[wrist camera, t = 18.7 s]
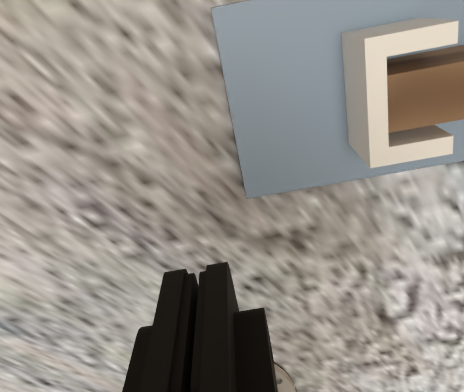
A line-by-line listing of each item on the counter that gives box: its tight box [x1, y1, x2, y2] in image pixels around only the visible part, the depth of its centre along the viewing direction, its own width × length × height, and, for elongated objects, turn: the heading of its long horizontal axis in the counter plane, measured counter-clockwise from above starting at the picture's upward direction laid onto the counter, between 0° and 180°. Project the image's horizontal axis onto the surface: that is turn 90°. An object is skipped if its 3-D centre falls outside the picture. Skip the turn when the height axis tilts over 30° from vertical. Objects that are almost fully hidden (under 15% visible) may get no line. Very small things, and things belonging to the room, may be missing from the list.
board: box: [211, 0, 464, 199], centre depth 30 cm, size 14×27×1 cm, turn 100°
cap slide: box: [341, 18, 459, 168], centre depth 27 cm, size 8×5×5 cm, turn 10°
